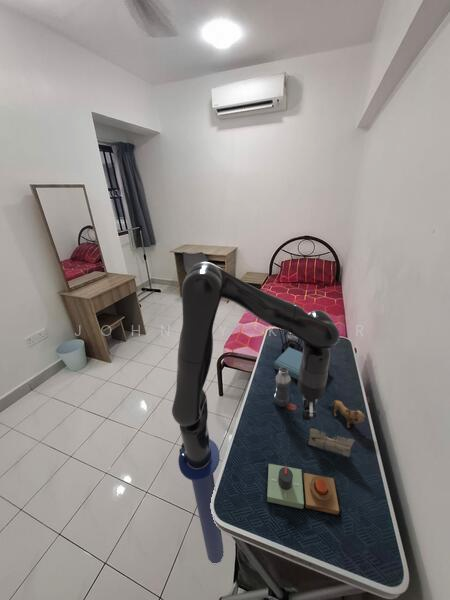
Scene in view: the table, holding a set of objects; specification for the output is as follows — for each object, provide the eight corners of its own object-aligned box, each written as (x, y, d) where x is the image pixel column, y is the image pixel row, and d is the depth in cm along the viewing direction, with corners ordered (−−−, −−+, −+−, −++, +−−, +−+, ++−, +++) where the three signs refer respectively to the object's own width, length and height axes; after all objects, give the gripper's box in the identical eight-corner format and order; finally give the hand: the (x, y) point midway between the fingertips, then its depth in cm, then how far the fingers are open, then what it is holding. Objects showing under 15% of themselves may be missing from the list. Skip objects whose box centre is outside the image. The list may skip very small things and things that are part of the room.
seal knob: (292, 491, 76) (293, 483, 74) (278, 488, 77) (278, 480, 74) (291, 476, 80) (292, 467, 77) (278, 473, 80) (278, 465, 78)
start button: (315, 493, 74) (316, 490, 74) (314, 481, 78) (314, 477, 77) (327, 496, 74) (328, 493, 73) (326, 483, 77) (326, 480, 76)
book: (327, 371, 126) (328, 363, 123) (314, 389, 115) (316, 382, 113) (288, 354, 139) (288, 347, 137) (273, 369, 129) (274, 362, 127)
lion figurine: (363, 427, 97) (368, 412, 93) (356, 435, 94) (361, 419, 90) (330, 403, 107) (333, 389, 103) (323, 410, 105) (326, 395, 101)
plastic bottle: (275, 395, 113) (277, 362, 104) (290, 400, 110) (293, 367, 102) (272, 406, 108) (273, 372, 99) (287, 411, 105) (290, 377, 96)
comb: (307, 447, 91) (309, 430, 86) (307, 441, 93) (310, 424, 88) (350, 460, 86) (355, 443, 81) (349, 454, 88) (354, 436, 83)
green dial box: (267, 501, 76) (267, 496, 75) (268, 468, 85) (268, 463, 84) (303, 509, 74) (304, 504, 73) (300, 474, 83) (301, 469, 81)
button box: (305, 507, 74) (306, 501, 72) (303, 476, 82) (304, 469, 80) (338, 514, 72) (340, 508, 70) (332, 481, 80) (334, 475, 78)
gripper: (297, 360, 74) (293, 399, 82) (300, 393, 63) (294, 435, 71) (323, 363, 73) (316, 402, 81) (330, 397, 61) (321, 440, 69)
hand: (305, 418), depth 76 cm, fingers closed
